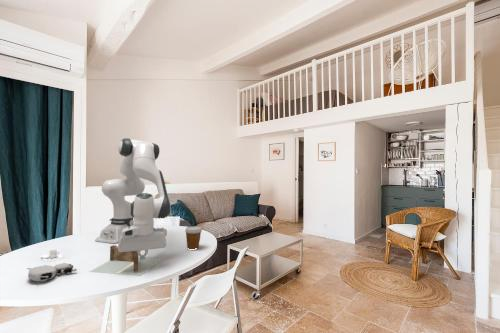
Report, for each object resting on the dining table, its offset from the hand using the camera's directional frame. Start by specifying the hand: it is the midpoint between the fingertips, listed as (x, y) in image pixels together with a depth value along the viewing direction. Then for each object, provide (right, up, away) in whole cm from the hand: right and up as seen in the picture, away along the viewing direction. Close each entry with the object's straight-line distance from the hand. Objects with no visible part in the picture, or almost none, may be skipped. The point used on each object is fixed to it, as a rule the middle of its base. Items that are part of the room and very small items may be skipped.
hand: (142, 259), depth 112 cm
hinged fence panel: (-4, -3, +1) cm, 5 cm away
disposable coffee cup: (+16, -6, +31) cm, 36 cm away
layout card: (-8, -5, +4) cm, 10 cm away
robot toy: (-34, -4, -9) cm, 36 cm away
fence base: (-13, -4, +8) cm, 16 cm away
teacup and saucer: (-52, -4, +13) cm, 54 cm away
